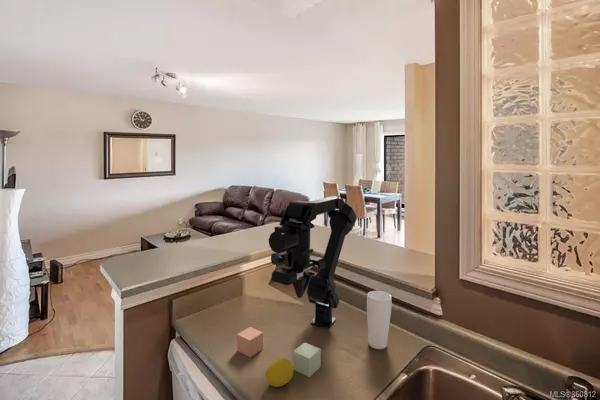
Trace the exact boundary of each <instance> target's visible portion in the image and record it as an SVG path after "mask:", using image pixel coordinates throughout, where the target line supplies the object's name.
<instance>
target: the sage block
mask: <svg viewBox="0 0 600 400" xmlns="http://www.w3.org/2000/svg"><path fill="white" fill-rule="evenodd" d="M321 350H322V349H321V348H320V347H316V346H314V345H312V344H310V343H308V342H304V343H302V344H301V345H299V346H298V347H297V348H295V349H294V350H293V351H292V355H293V356H292V358H293V359H292V365H293V369H294V371H296V372H298V373H300V374H301V375H303V376H306V377H307V378H310V377H311V376H313V375H314V374H315V372H317V371H318V370H319V369H320V368H321V363H322V362H321V361H322V360H321V357H322V351H321Z"/></svg>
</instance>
